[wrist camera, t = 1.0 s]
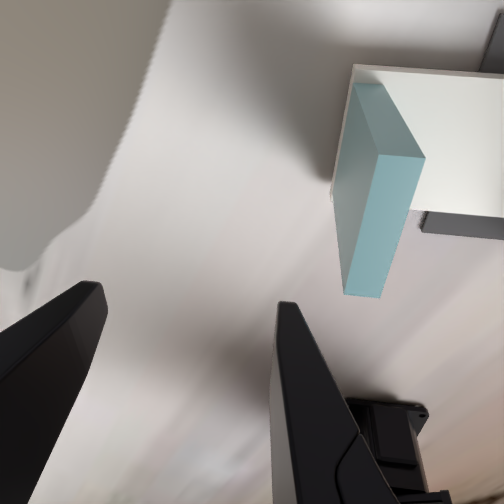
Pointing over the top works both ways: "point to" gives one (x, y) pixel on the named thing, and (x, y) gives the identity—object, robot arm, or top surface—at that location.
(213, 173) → the top surface
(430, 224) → the pad
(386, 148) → the sled
